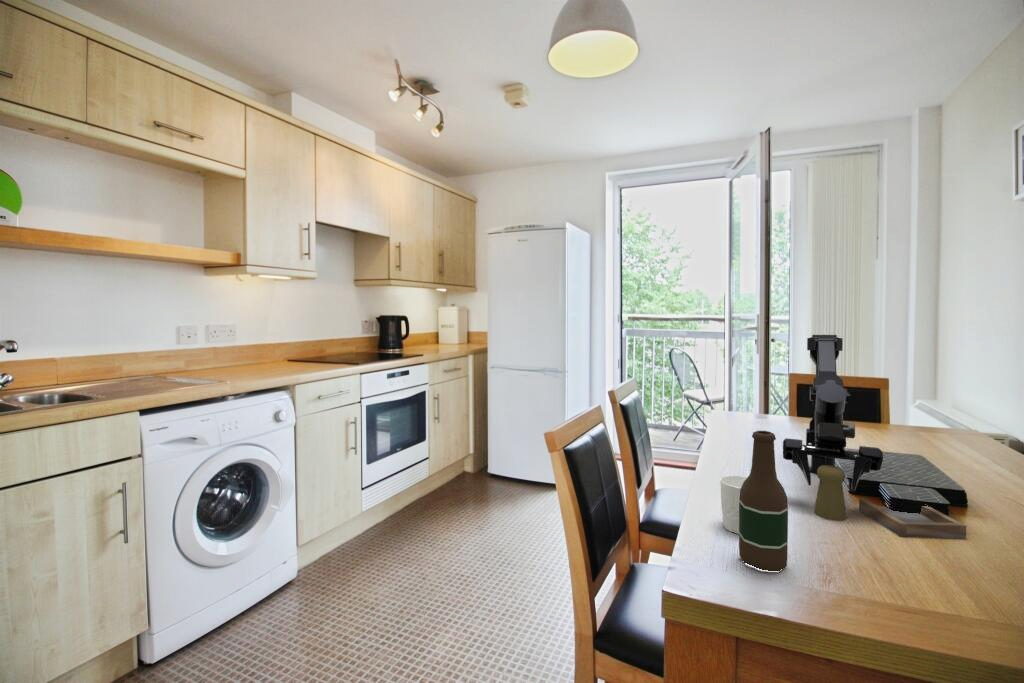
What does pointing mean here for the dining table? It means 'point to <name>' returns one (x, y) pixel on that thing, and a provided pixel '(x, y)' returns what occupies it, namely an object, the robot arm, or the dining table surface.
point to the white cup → (731, 501)
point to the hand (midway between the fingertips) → (831, 487)
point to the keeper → (915, 522)
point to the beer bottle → (763, 510)
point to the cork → (830, 493)
